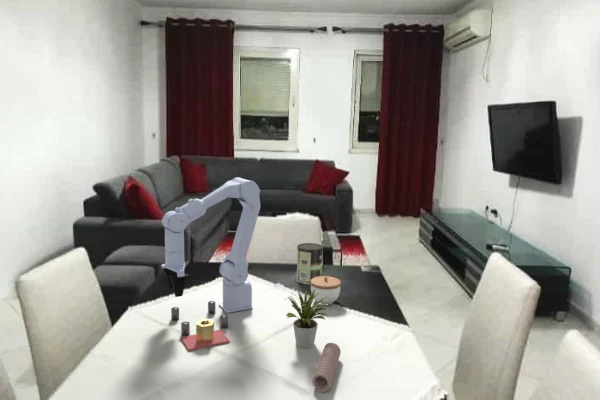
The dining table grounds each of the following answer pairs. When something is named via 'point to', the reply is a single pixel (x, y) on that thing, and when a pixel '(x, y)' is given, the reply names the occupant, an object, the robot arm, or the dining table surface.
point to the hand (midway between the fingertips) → (175, 291)
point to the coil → (326, 367)
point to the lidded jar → (326, 288)
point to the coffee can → (309, 262)
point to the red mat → (217, 340)
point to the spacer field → (186, 325)
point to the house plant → (306, 320)
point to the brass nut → (204, 330)
